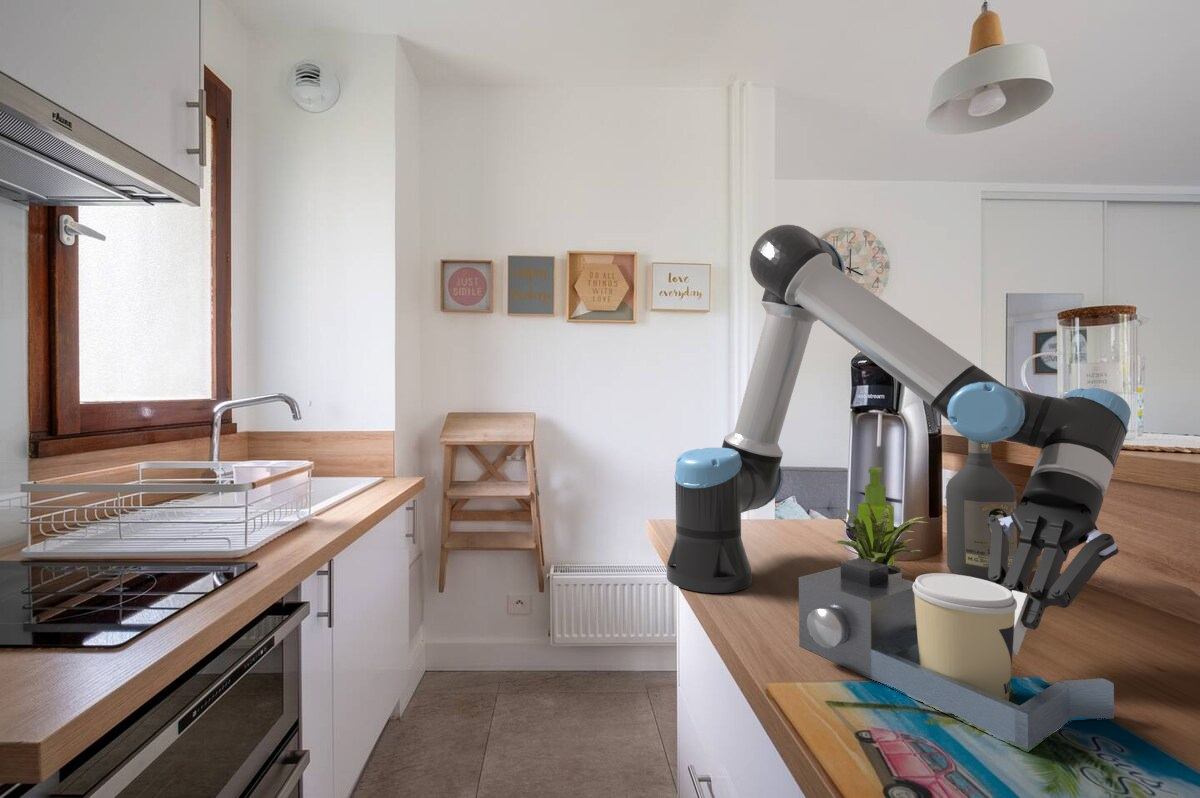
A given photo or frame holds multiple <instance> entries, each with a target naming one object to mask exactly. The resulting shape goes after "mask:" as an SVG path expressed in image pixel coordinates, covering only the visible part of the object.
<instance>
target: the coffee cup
mask: <svg viewBox="0 0 1200 798" xmlns="http://www.w3.org/2000/svg"><path fill="white" fill-rule="evenodd" d="M913 582H914V583H913V586H912V587H913V592H914V596H915V612H916V624H917V636H918V648H919V659H920V665H921V666H924V667H926V668H928V669H931V670H933V671H936V672H938V673H941V674H943V675H946V676H948V677H950V678H953V679H955V680H958V681H960V682H963V683H965V684H967V685H970V686H972V687H975V688H977V689H980V690H982V691H985V692H987V693H989V694H992V695H994V696H997V697H999V698H1002V699H1004V700H1007V701H1009V700H1010V692H1011V690H1010V689H1011V678H1012V665H1013V664H1012V662H1013V654H1012V653H1013V638H1014V621H1015V610H1016V608H1017V601H1016V599H1015V598H1014V596H1013V594H1012V592H1011V591H1010V590H1008V589H1007V588H1005V587H1003V586H1001V585H998V584H996V583H993V582H990V581H987V580H983V579H979V578H974V577H969V576H963V575H957V574H955V573H939V572H936V573H933V572H931V573H925V574H921V575H918V576H916V578H915V581H913ZM1009 702H1010V701H1009Z"/></svg>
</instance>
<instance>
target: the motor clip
mask: <svg viewBox="0 0 1200 798" xmlns="http://www.w3.org/2000/svg"><path fill="white" fill-rule="evenodd" d="M914 582H915V581H912V580H907V579H904V578H903V577H902V578H898V577H894V576H891V575H888V565H884V564H880V563H876V562H873V561H869V560H865V559H861V558H858V557H857V558H854V559H849V560H846V561H841V562H840V566H838V567H834V568H830V569H826V570H822V571H818V572H815V573H810V574H806V575H803V576H799V577H798V621H799V622H798V625H799V626H798V627H799V628H798V632H799V633H798V634H799V635H798V636H799V642H798V643H799V644H798V645H799V647H801V648H803V649H805V650H807V651H809V652H812V653H813V654H816V655H818V656H821V657H822V658H825V659H827V660H829V661H831V662H833V663H834V664H837V665H839V666H841V667H843V668H845V669H848V670H850V671H852V672H854V673H857V674H859V675H860V676H863V677H865V678H867V679H868V680H871V679H872V680H871V681H873V680H876V681H878V682H881V683H884V684H887V685H889V686H891V687H894V688H896V689H898V690H900V691H902V692H906V693H908V694H910V695H912V696H914V697H916V698H918V699H921V700H923V701H925V702H927V703H929V704H932V705H934V706H936V707H938V708H942V709H943V710H945V711H947V712H950V713H952V714H954V715H955V716H958V717H960V718H962V719H964V720H966V721H967V722H970V723H971V724H974V725H975V726H977V727H980V728H982V729H985V730H986V731H989V732H991V733H993V734H996V735H998V736H1000V737H1003V738H1006V739H1008V740H1010V741H1013V742H1016V743H1017V744H1020V745H1021V746H1023V747H1025V748H1026V749H1029V748H1031V747H1032V746H1034V745H1035V744H1036V743H1038V742H1039V741H1040V740H1041V739H1043V738H1045V737H1046V736H1048V735H1049V734H1051V733H1052V732H1054V731H1056V730H1057V729H1059V728H1060V727H1061V726H1062V725H1063V724H1065V723H1066V722H1067V721H1068V720H1070V719H1073V718H1074V719H1075V718H1085V717H1086V718H1101V719H1100V720H1109V719H1115V687H1114V686H1115V683H1114V682H1112V681H1110V680H1108V679H1105V678H1104V677H1103V678H1102V677H1101V678H1089V679H1088V678H1087V679H1084V678H1083V679H1071V680H1069V679H1068V680H1059V681H1056V682H1055V683H1053V684H1051V685H1050V686H1048V687H1047V688H1045V689H1044V690H1042V691H1041V692H1039V693H1037V694H1036V695H1034V696H1033V697H1031V698H1029V699H1028V700H1027V701H1025V702H1023V703H1022V704H1020V705H1018V704H1016V703H1014V702H1012V701H1007V700H1004V699H1002V698H999V697H997V696H994V695H992V694H989V693H987V692H985V691H982V690H980V689H977V688H975V687H972V686H970V685H967V684H965V683H963V682H960V681H958V680H955V679H953V678H950V677H948V676H946V675H943V674H941V673H938V672H936V671H933V670H931V669H928V668H926V667H924V666H921V665H920V659H919V648H918V636H917V624H916V612H915V596H914V592H913V587H912V586H913V583H914ZM878 682H877V683H878ZM1102 718H1103V719H1102ZM1104 718H1105V719H1104Z"/></svg>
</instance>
